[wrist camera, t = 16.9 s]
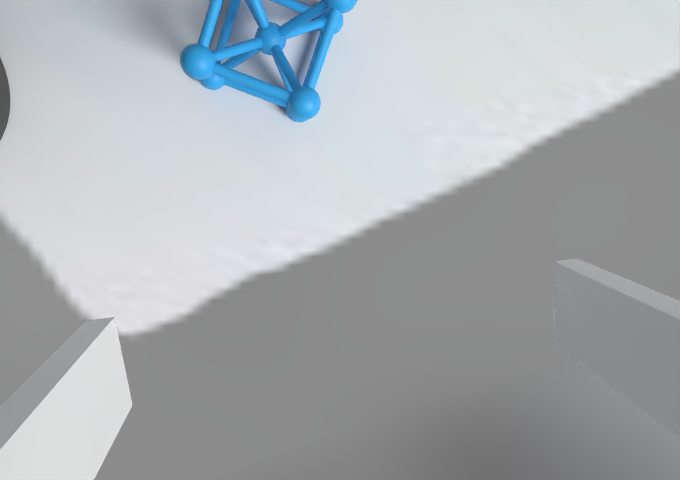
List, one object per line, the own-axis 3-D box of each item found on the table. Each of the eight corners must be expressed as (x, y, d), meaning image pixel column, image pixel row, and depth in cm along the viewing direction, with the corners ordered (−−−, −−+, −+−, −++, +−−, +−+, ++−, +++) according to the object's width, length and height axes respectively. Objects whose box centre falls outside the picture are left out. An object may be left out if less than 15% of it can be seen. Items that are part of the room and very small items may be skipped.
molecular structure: (306, 126, 44) (315, 124, 34) (196, 84, 42) (172, 69, 32) (345, 14, 42) (365, -21, 33) (232, -34, 41) (218, -87, 31)
